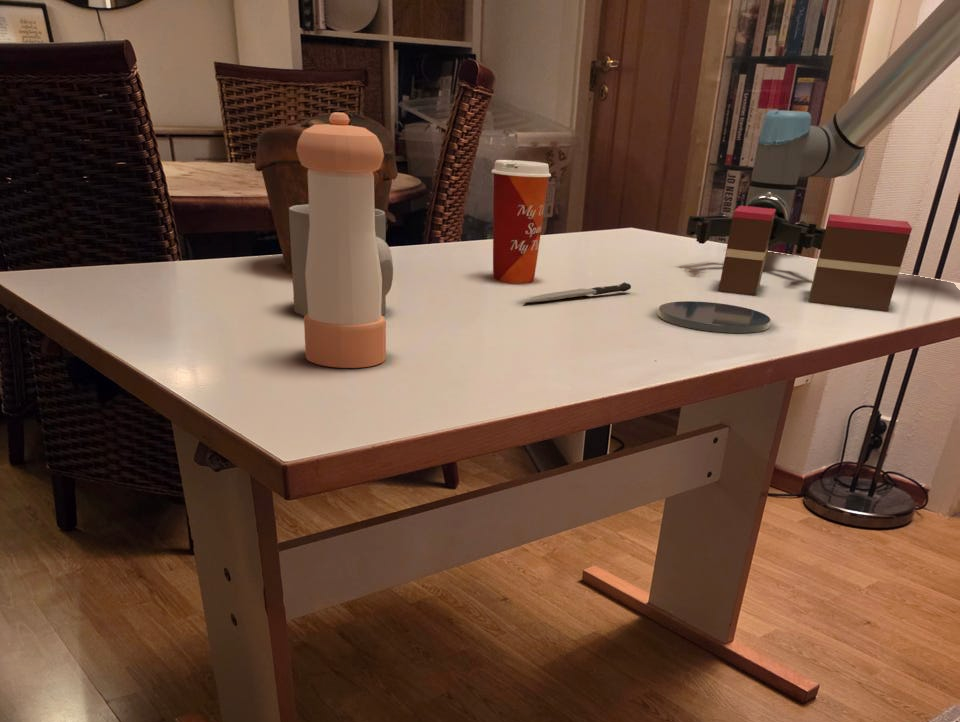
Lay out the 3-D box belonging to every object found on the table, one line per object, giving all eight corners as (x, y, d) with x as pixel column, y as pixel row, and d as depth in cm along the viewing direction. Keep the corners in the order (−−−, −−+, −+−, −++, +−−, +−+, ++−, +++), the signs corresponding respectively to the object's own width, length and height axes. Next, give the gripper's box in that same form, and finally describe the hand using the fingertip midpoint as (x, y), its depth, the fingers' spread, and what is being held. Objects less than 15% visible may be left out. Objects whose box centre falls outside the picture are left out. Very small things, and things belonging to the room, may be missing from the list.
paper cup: (525, 287, 113) (535, 165, 105) (475, 278, 116) (481, 160, 108) (551, 279, 119) (562, 163, 111) (502, 271, 122) (509, 158, 114)
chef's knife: (507, 301, 105) (523, 304, 103) (507, 291, 104) (523, 294, 102) (616, 289, 115) (632, 291, 113) (616, 279, 115) (633, 282, 113)
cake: (884, 300, 119) (908, 221, 114) (887, 311, 113) (912, 227, 108) (809, 292, 122) (829, 214, 117) (808, 301, 116) (829, 219, 110)
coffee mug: (280, 303, 96) (274, 204, 91) (362, 299, 101) (360, 203, 95) (329, 331, 87) (325, 222, 81) (416, 324, 91) (418, 220, 86)
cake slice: (759, 286, 124) (776, 208, 118) (755, 295, 117) (772, 214, 112) (724, 282, 125) (739, 205, 120) (718, 291, 119) (733, 210, 113)
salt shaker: (291, 352, 79) (276, 108, 69) (359, 344, 83) (355, 111, 73) (330, 372, 74) (321, 113, 64) (401, 362, 78) (402, 116, 68)
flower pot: (283, 285, 105) (272, 113, 95) (248, 257, 120) (236, 105, 110) (419, 282, 112) (422, 121, 102) (370, 255, 127) (369, 113, 117)
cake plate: (772, 316, 106) (773, 309, 105) (765, 338, 95) (767, 331, 95) (666, 303, 109) (667, 296, 109) (649, 323, 98) (650, 316, 98)
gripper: (688, 190, 140) (668, 200, 123) (849, 205, 134) (851, 217, 117) (680, 240, 144) (659, 257, 127) (836, 257, 138) (835, 276, 121)
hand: (751, 238), depth 122 cm, fingers open, 13 cm apart
